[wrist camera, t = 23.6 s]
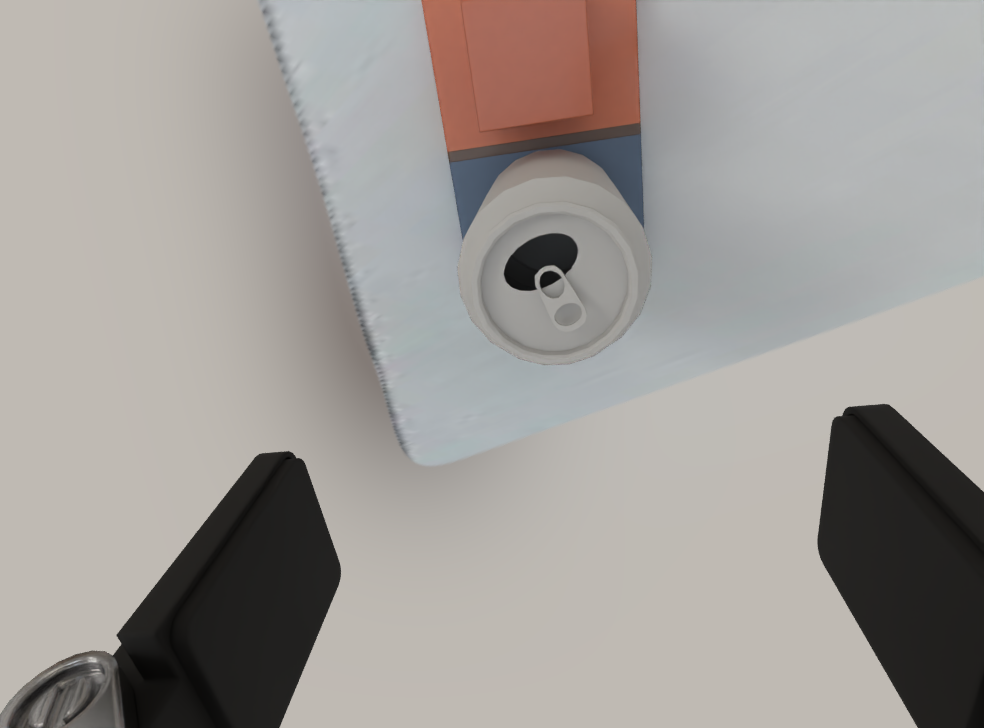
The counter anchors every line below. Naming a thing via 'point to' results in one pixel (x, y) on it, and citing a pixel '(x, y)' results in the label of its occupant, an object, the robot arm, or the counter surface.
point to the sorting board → (597, 137)
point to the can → (554, 260)
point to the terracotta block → (528, 61)
